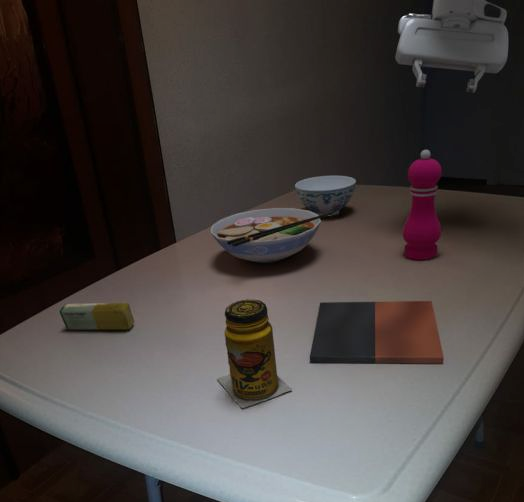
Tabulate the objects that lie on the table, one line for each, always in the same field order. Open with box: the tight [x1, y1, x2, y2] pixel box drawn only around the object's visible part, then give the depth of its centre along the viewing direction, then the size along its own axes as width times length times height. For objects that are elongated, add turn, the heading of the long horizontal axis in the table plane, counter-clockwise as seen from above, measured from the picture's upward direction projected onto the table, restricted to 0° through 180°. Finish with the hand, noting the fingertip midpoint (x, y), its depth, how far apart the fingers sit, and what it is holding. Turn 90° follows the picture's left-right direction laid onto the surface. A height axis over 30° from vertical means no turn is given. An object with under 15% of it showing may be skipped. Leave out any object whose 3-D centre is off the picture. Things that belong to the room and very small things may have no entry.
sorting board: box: [309, 300, 445, 364], centre depth 84 cm, size 18×18×1 cm
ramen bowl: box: [210, 207, 333, 264], centre depth 116 cm, size 25×23×8 cm
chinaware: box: [294, 175, 357, 216], centre depth 140 cm, size 15×15×8 cm
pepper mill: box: [402, 149, 442, 261], centre depth 106 cm, size 7×7×20 cm
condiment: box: [216, 298, 293, 409], centre depth 72 cm, size 7×8×12 cm
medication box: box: [59, 302, 135, 330], centre depth 94 cm, size 12×3×4 cm, turn 78°
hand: (445, 88), depth 105 cm, fingers open, 8 cm apart
